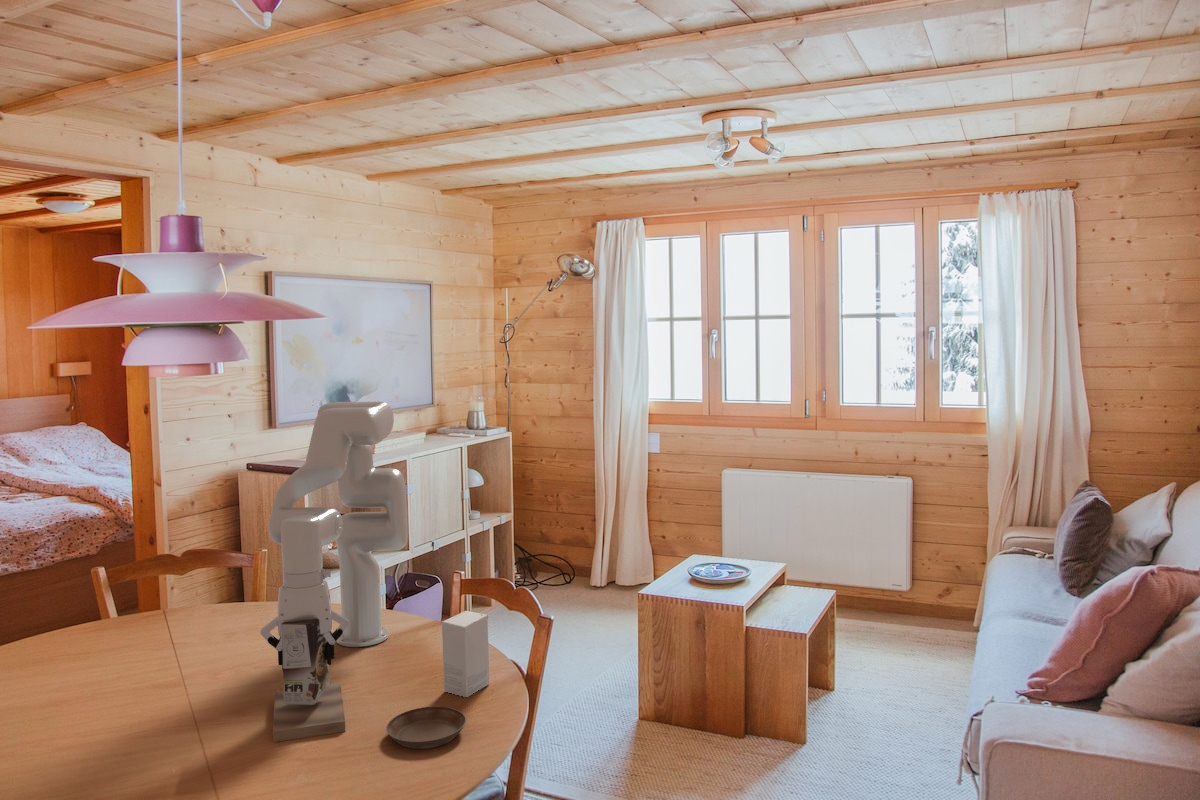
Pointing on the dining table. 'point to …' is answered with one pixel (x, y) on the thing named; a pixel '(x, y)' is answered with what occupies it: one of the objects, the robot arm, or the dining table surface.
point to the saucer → (426, 727)
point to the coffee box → (304, 662)
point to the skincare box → (465, 653)
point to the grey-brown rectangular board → (309, 716)
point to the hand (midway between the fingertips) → (306, 664)
